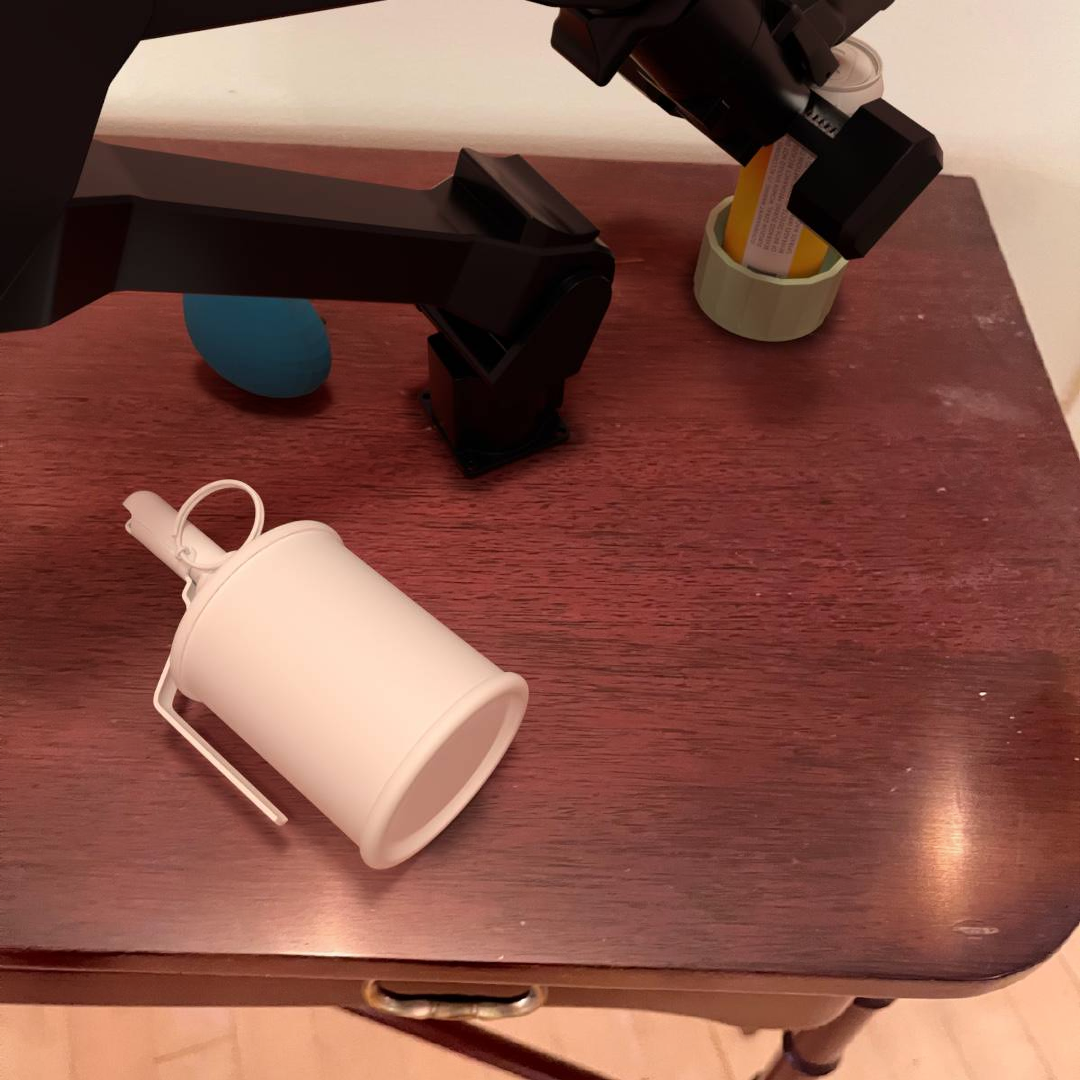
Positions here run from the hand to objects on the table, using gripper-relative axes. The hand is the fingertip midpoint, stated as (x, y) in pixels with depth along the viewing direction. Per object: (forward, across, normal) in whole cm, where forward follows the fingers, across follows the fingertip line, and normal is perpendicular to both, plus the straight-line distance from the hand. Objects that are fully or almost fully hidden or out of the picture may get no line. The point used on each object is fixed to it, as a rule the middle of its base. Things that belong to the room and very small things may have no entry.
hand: (814, 169), depth 57 cm
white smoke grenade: (-22, -18, +28) cm, 40 cm away
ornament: (-16, +9, +28) cm, 33 cm away
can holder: (+5, 0, +7) cm, 9 cm away
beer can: (+5, 0, +7) cm, 8 cm away
